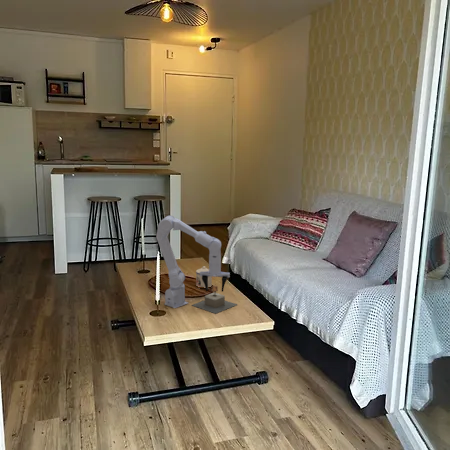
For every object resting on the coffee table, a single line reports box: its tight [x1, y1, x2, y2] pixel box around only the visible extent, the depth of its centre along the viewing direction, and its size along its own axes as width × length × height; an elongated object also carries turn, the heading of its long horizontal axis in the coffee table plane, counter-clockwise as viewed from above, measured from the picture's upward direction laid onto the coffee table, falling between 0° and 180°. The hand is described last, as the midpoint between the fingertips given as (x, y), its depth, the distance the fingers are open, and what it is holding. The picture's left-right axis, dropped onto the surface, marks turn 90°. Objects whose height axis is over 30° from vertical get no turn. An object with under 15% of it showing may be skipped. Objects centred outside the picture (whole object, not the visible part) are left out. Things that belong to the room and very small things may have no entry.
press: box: [191, 292, 238, 315], centre depth 224 cm, size 16×16×5 cm
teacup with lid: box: [195, 266, 213, 288], centre depth 251 cm, size 12×9×12 cm
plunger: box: [211, 285, 219, 297], centre depth 223 cm, size 5×5×6 cm
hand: (214, 290), depth 223 cm, fingers open, 7 cm apart
